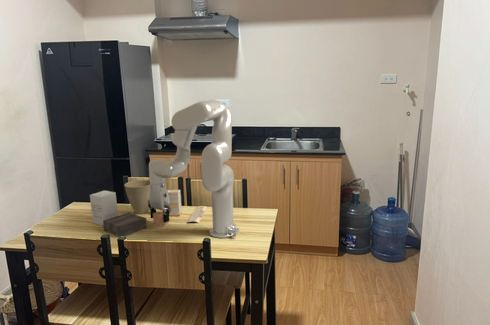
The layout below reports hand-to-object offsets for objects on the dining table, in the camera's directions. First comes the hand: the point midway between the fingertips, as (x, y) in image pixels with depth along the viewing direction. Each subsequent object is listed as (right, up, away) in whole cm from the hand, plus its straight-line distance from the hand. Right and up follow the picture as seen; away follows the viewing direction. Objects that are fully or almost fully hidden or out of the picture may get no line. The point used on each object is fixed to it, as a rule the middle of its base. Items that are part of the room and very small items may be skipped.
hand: (160, 219), depth 182 cm
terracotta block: (0, -3, 0) cm, 3 cm away
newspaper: (+17, 0, +13) cm, 21 cm away
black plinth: (-15, -4, -5) cm, 17 cm away
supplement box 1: (-29, -2, +6) cm, 29 cm away
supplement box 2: (+4, 0, +14) cm, 15 cm away
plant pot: (-15, +1, +20) cm, 25 cm away
